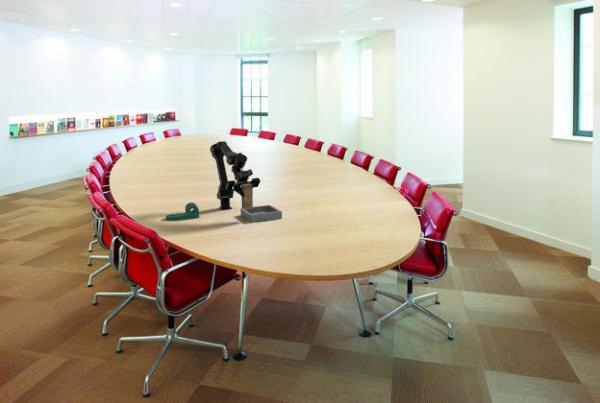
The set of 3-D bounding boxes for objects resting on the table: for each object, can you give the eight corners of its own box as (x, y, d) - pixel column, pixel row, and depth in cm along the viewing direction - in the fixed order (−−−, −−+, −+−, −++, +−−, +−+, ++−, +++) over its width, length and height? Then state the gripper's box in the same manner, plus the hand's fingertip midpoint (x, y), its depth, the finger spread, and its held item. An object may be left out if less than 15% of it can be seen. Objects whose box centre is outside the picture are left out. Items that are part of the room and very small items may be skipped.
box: (240, 215, 274) (240, 208, 273) (270, 211, 282) (269, 204, 281) (251, 222, 258) (250, 215, 258) (282, 218, 266) (281, 211, 265)
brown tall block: (241, 207, 262) (240, 184, 259) (249, 206, 264) (248, 183, 261) (245, 209, 258) (244, 185, 255) (252, 208, 261) (252, 184, 258)
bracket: (197, 215, 276) (196, 202, 274) (199, 218, 270) (198, 204, 268) (165, 218, 270) (164, 204, 269) (166, 221, 264) (165, 207, 262)
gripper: (226, 166, 255) (235, 190, 248) (258, 163, 264) (268, 186, 257) (221, 178, 263) (230, 202, 257) (253, 175, 272) (262, 197, 266)
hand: (248, 196), depth 259 cm, fingers closed on brown tall block, 4 cm apart
